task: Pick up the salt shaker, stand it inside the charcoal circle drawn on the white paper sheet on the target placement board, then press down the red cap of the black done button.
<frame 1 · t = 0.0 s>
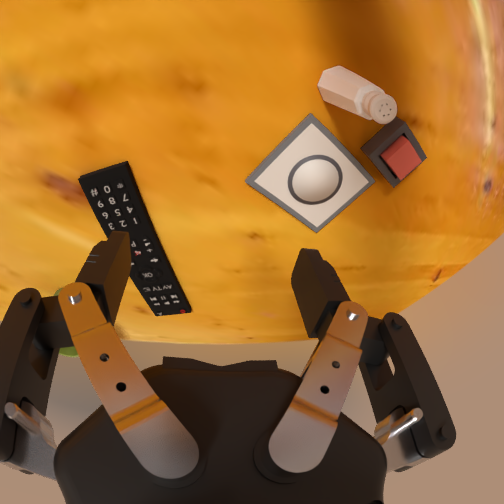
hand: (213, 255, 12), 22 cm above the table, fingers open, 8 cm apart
remote control: (143, 251, 42), on the table
button housing: (391, 148, 32), on the table
salt shaker: (337, 85, 26), on the table
done button: (401, 157, 30), point 3 cm above the table, slide at 0.0 cm
target placement board: (314, 178, 35), on the table
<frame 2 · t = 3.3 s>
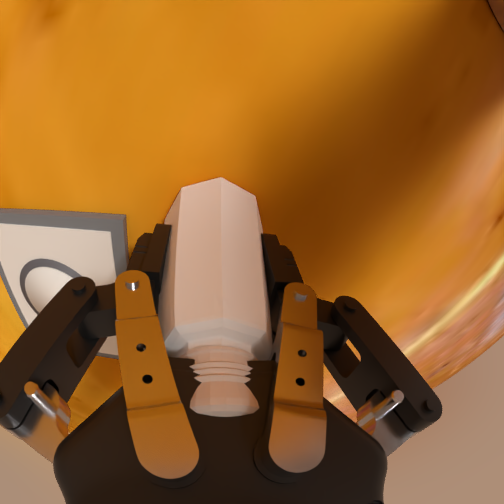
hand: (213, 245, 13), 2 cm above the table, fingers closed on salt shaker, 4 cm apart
salt shaker: (214, 220, 15), on the table, touching gripper
target placement board: (62, 293, 17), on the table
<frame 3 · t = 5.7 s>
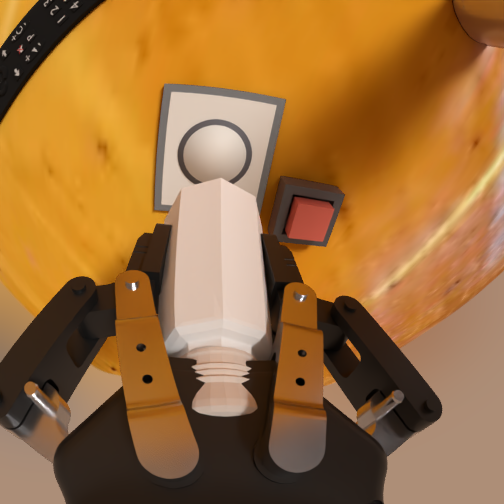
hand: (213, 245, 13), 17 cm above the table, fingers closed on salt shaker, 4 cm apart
remote control: (21, 59, 16), on the table
button housing: (302, 207, 32), on the table
salt shaker: (214, 221, 15), point 15 cm above the table, touching gripper
done button: (309, 219, 30), point 3 cm above the table, slide at 0.0 cm
target placement board: (214, 153, 27), on the table
when the fingers open (5 cm above the table, at t = 8.4 s): salt shaker drops 1 cm, resting on target placement board.
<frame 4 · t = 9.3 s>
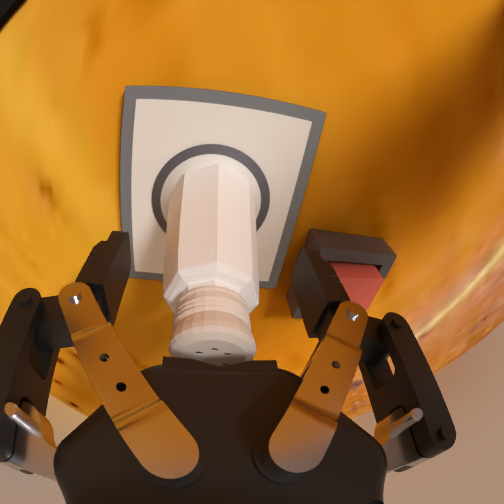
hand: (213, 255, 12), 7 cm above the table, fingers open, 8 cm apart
button housing: (334, 268, 23), on the table
salt shaker: (212, 201, 17), point 1 cm above the table, touching target placement board
done button: (347, 291, 20), point 3 cm above the table, slide at 0.0 cm
target placement board: (210, 197, 18), on the table
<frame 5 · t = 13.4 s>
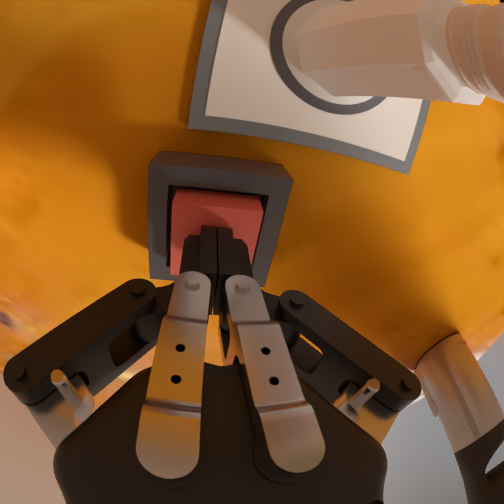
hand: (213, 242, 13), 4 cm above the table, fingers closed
button housing: (213, 211, 16), on the table
salt shaker: (341, 52, 11), point 1 cm above the table, touching target placement board
done button: (213, 235, 14), point 3 cm above the table, slide at 0.2 cm, touching gripper
target placement board: (335, 51, 11), on the table
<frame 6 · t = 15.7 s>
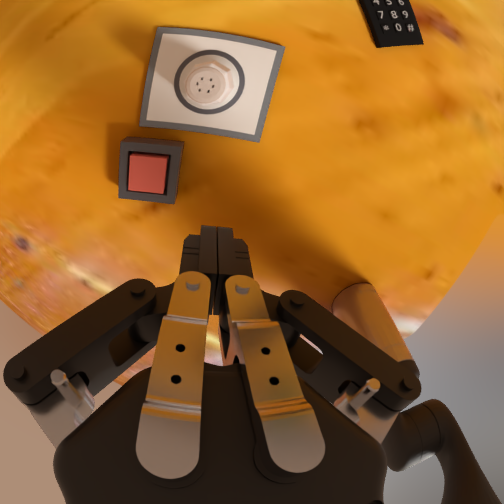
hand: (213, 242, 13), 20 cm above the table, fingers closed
button housing: (152, 166, 30), on the table
salt shaker: (209, 83, 25), point 1 cm above the table, touching target placement board
done button: (148, 172, 29), point 2 cm above the table, slide at 0.8 cm
target placement board: (209, 81, 25), on the table
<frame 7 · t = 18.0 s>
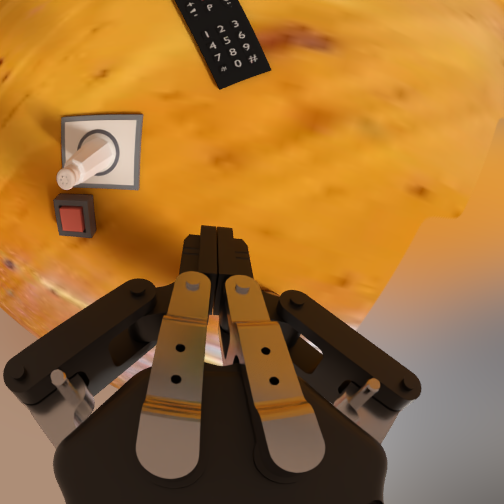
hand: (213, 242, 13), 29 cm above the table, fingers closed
button housing: (77, 212, 40), on the table
salt shaker: (98, 153, 35), point 1 cm above the table, touching target placement board
done button: (73, 217, 39), point 2 cm above the table, slide at 0.8 cm
target placement board: (99, 151, 35), on the table
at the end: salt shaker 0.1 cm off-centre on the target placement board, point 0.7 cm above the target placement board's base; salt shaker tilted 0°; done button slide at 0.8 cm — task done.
